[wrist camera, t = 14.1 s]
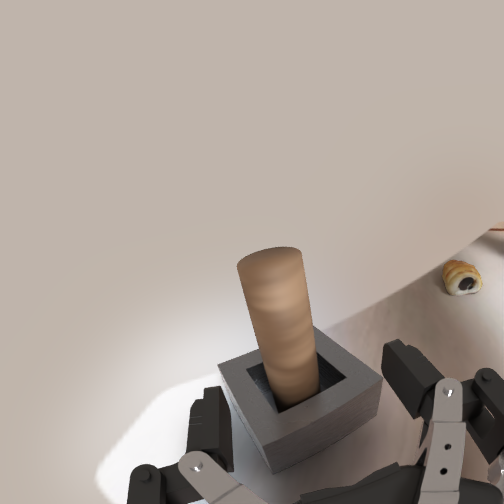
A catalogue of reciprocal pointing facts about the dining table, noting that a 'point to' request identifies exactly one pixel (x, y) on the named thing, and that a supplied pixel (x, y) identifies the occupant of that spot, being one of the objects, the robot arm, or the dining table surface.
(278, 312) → the peg
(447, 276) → the pastry
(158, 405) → the dining table surface
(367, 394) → the socket block
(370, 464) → the dining table surface
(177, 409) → the dining table surface
